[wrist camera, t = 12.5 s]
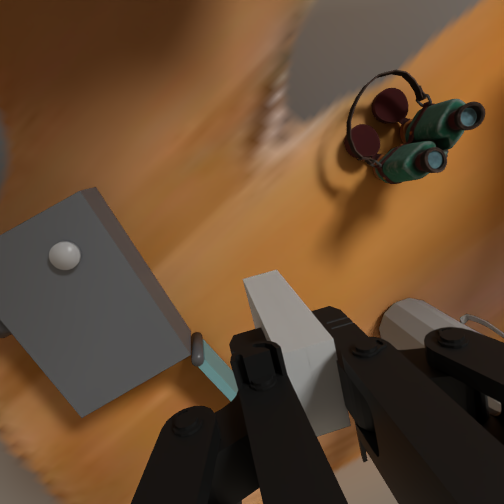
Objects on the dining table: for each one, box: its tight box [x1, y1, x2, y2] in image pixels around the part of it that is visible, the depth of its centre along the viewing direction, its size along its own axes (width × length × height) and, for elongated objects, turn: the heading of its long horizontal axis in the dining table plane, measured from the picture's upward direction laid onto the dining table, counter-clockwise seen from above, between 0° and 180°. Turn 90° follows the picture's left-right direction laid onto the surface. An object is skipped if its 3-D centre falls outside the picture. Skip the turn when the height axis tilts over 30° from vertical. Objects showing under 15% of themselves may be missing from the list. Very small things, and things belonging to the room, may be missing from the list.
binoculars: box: [344, 70, 485, 184], centre depth 35 cm, size 9×11×10 cm
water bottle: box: [379, 298, 504, 412], centre depth 34 cm, size 9×8×25 cm
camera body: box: [0, 187, 191, 418], centre depth 36 cm, size 18×14×6 cm
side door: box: [191, 332, 238, 401], centre depth 41 cm, size 2×13×5 cm, turn 38°
